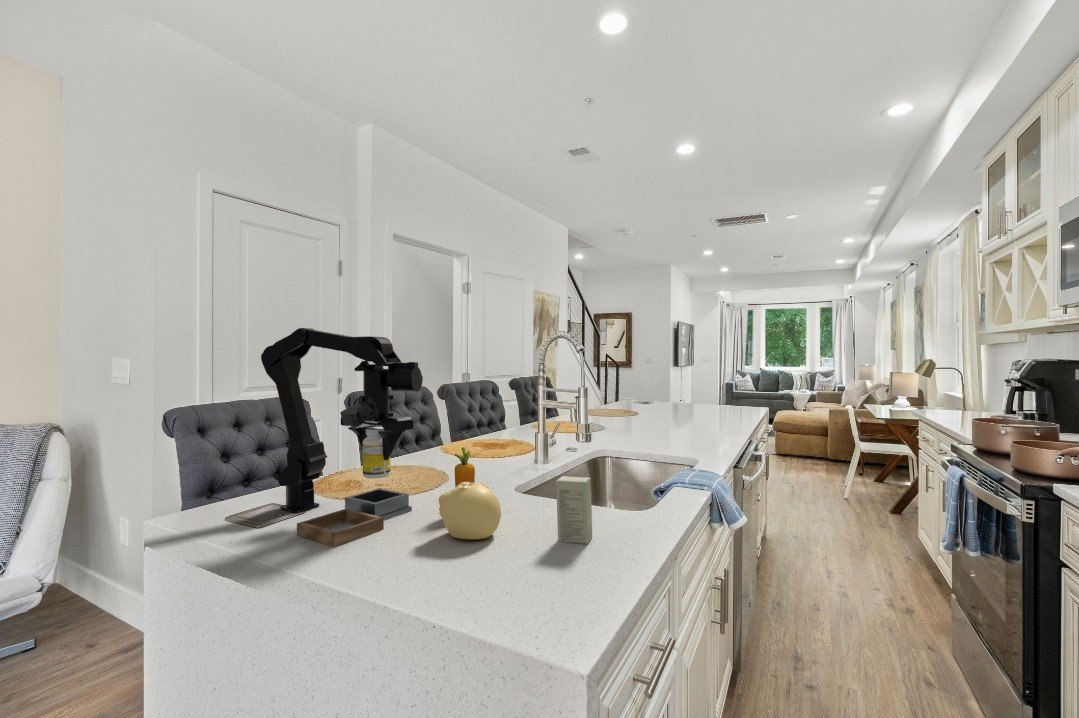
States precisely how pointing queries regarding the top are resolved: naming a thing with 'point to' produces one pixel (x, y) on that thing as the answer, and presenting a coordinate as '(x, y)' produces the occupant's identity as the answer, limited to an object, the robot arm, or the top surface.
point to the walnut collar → (364, 527)
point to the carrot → (464, 469)
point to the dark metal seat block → (379, 503)
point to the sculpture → (470, 511)
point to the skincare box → (574, 509)
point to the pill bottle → (374, 455)
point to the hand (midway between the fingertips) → (376, 458)
